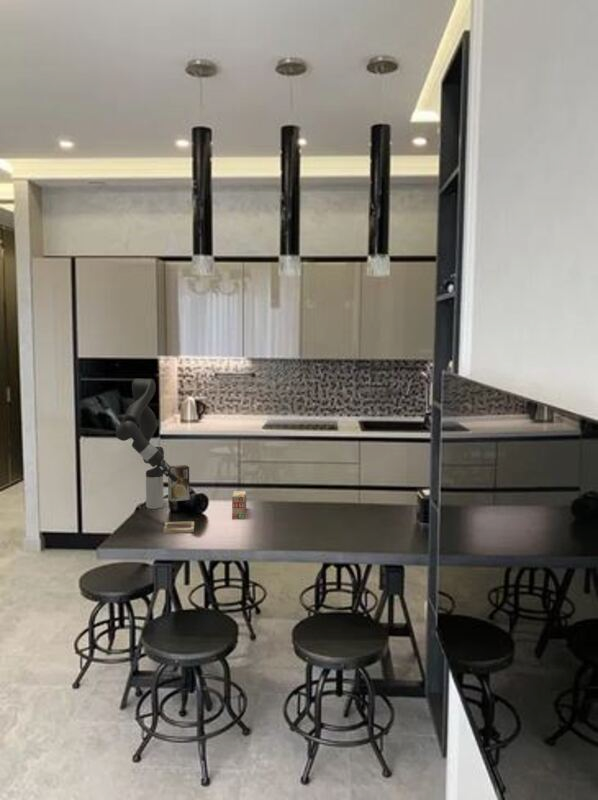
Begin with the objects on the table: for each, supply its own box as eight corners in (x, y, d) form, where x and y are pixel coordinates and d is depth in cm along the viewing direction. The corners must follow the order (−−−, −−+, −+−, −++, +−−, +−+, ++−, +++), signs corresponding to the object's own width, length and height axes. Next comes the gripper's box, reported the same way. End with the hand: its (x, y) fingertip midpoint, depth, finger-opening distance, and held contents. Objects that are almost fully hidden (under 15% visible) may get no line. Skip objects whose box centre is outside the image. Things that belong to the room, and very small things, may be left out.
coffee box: (186, 497, 299) (186, 464, 298) (189, 500, 294) (189, 466, 293) (167, 498, 296) (167, 465, 295) (170, 501, 290) (170, 468, 289)
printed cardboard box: (235, 508, 334) (235, 486, 334) (246, 509, 335) (246, 486, 334) (231, 519, 313) (232, 495, 312) (244, 519, 313) (244, 496, 312)
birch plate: (165, 525, 301) (165, 522, 301) (194, 524, 303) (194, 521, 303) (163, 533, 288) (163, 530, 287) (193, 532, 290) (193, 529, 290)
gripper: (156, 451, 284) (181, 476, 287) (158, 447, 298) (183, 470, 301) (144, 463, 284) (170, 487, 286) (147, 458, 298) (171, 481, 300)
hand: (176, 478), depth 293 cm, fingers closed on coffee box, 7 cm apart
